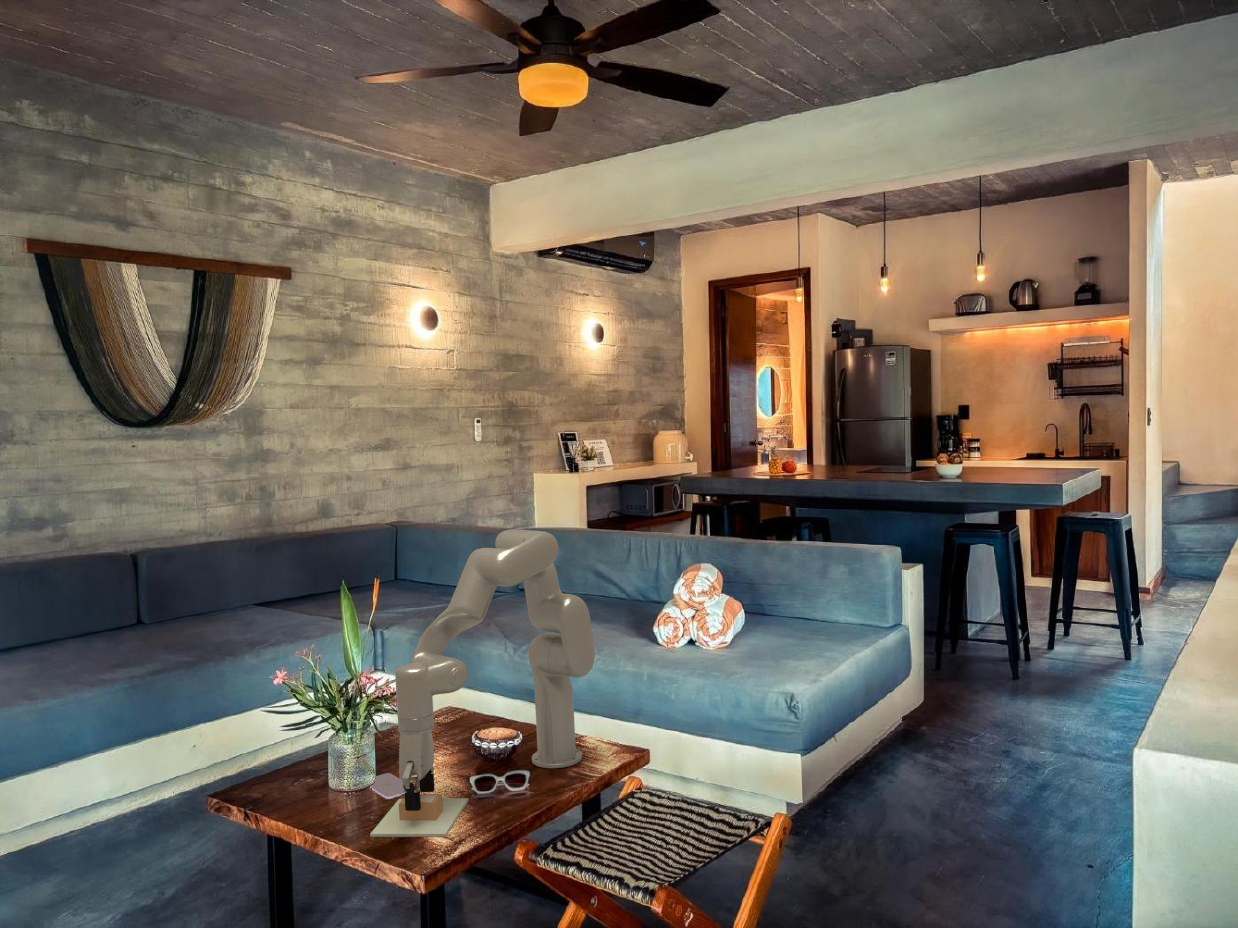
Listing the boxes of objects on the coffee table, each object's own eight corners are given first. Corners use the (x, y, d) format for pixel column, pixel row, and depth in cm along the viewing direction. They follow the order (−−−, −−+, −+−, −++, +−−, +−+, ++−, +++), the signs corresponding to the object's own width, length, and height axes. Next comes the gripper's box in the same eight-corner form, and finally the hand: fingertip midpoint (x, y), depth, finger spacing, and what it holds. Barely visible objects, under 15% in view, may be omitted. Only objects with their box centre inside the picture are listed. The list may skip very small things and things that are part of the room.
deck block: (443, 810, 201) (442, 793, 201) (435, 820, 196) (434, 803, 196) (407, 810, 202) (406, 793, 202) (399, 819, 197) (398, 802, 197)
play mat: (399, 801, 209) (399, 798, 209) (468, 800, 207) (468, 798, 207) (370, 836, 191) (370, 833, 191) (445, 836, 189) (445, 833, 189)
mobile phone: (387, 797, 210) (359, 779, 222) (387, 801, 210) (360, 783, 222) (417, 787, 215) (389, 771, 227) (417, 791, 215) (389, 775, 227)
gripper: (411, 710, 207) (416, 785, 208) (385, 735, 190) (389, 817, 191) (444, 709, 207) (448, 784, 207) (420, 735, 189) (425, 817, 190)
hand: (420, 800), depth 199 cm, fingers open, 9 cm apart
